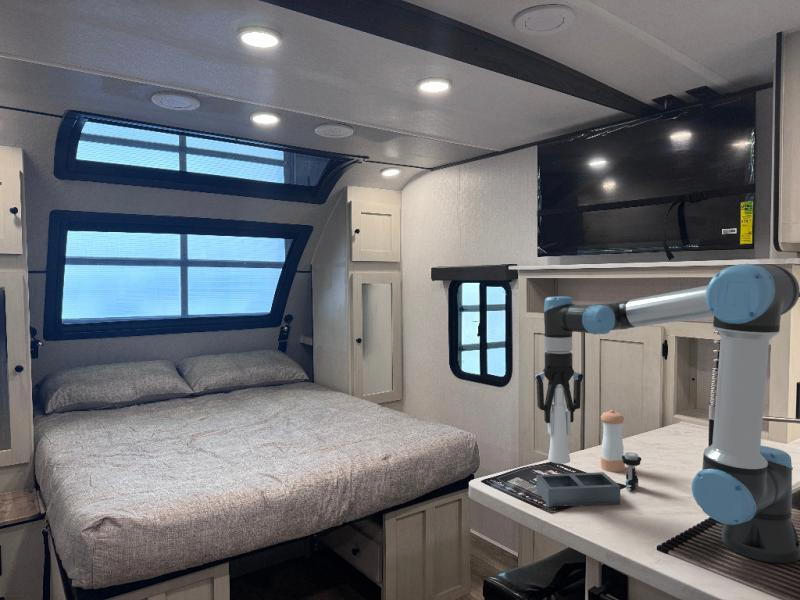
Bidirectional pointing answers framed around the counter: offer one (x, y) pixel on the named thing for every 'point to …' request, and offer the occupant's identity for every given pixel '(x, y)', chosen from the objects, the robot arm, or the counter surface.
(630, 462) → the push button
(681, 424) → the counter surface
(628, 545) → the counter surface
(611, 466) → the pepper shaker
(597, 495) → the square-hole rail
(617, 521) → the counter surface
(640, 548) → the counter surface
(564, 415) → the cosmetic bottle
